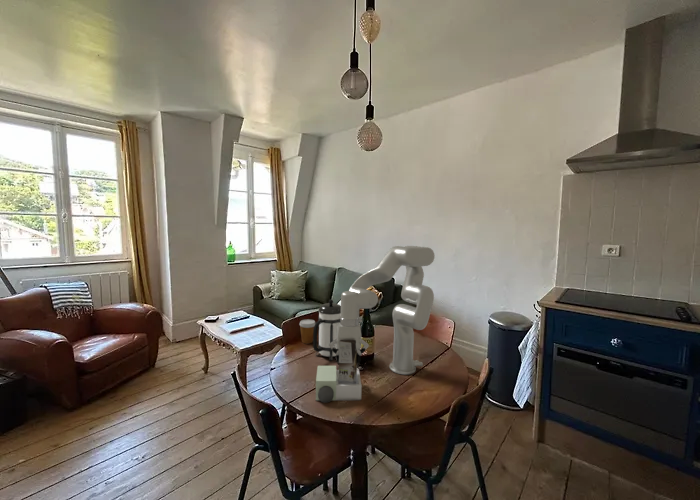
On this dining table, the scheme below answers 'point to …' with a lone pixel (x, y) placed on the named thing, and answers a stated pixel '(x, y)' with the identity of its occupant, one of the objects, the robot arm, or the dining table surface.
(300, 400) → the dining table surface
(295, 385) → the dining table surface
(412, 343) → the robot arm
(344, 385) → the pale green boxy shape
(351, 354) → the coffee box
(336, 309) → the coffee press
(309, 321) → the disposable coffee cup
